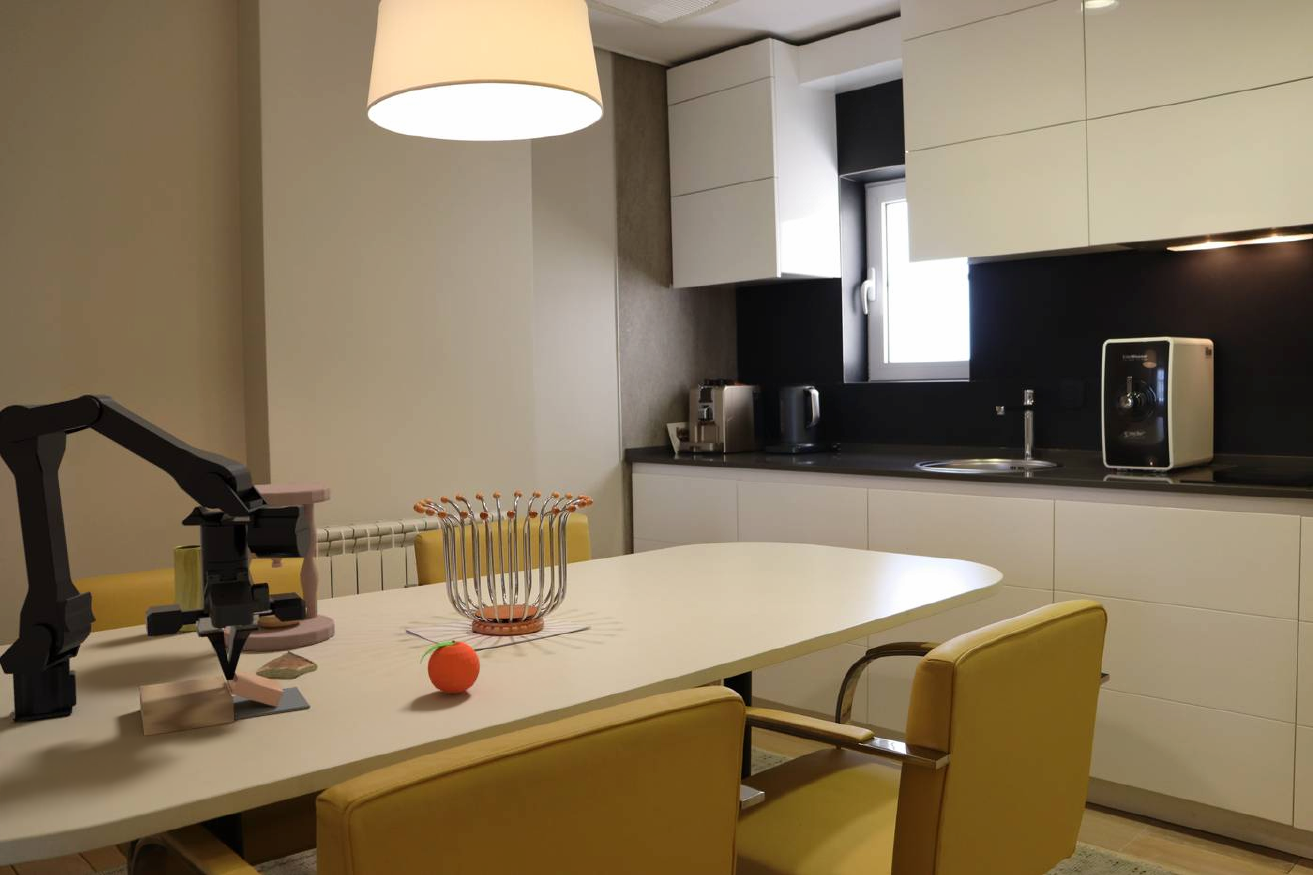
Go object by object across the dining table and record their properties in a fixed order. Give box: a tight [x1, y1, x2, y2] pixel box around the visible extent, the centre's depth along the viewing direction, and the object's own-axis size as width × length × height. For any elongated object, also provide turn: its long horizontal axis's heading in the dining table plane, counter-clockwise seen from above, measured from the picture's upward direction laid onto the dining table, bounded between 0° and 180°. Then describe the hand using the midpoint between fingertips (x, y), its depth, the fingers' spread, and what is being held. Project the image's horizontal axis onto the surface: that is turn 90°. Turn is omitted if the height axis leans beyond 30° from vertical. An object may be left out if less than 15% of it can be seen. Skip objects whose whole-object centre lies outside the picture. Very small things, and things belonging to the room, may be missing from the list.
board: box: [139, 674, 235, 737], centre depth 134 cm, size 10×12×3 cm
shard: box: [255, 650, 318, 679], centre depth 156 cm, size 11×8×2 cm
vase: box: [173, 544, 203, 633], centre depth 183 cm, size 6×6×14 cm
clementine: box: [419, 640, 481, 695], centre depth 141 cm, size 8×7×7 cm
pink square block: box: [225, 668, 284, 707], centre depth 137 cm, size 6×6×2 cm
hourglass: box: [223, 482, 336, 652], centre depth 175 cm, size 18×18×25 cm
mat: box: [232, 686, 311, 720], centre depth 138 cm, size 9×10×1 cm
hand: (229, 679), depth 136 cm, fingers closed
